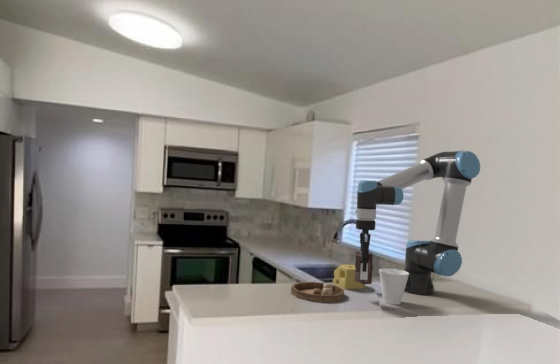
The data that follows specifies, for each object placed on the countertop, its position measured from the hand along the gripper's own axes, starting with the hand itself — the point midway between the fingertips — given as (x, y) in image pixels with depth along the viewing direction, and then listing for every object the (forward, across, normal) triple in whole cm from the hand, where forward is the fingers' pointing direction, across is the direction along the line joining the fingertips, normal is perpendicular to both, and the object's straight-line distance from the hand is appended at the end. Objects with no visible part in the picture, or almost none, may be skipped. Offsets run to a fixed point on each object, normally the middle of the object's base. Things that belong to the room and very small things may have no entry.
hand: (363, 277), depth 170 cm
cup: (+11, -6, +12) cm, 17 cm away
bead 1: (+9, -4, -14) cm, 17 cm away
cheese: (+11, -20, -5) cm, 24 cm away
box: (+2, 0, 0) cm, 2 cm away
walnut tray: (+10, 0, -18) cm, 20 cm away
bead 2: (+8, +3, -14) cm, 17 cm away
